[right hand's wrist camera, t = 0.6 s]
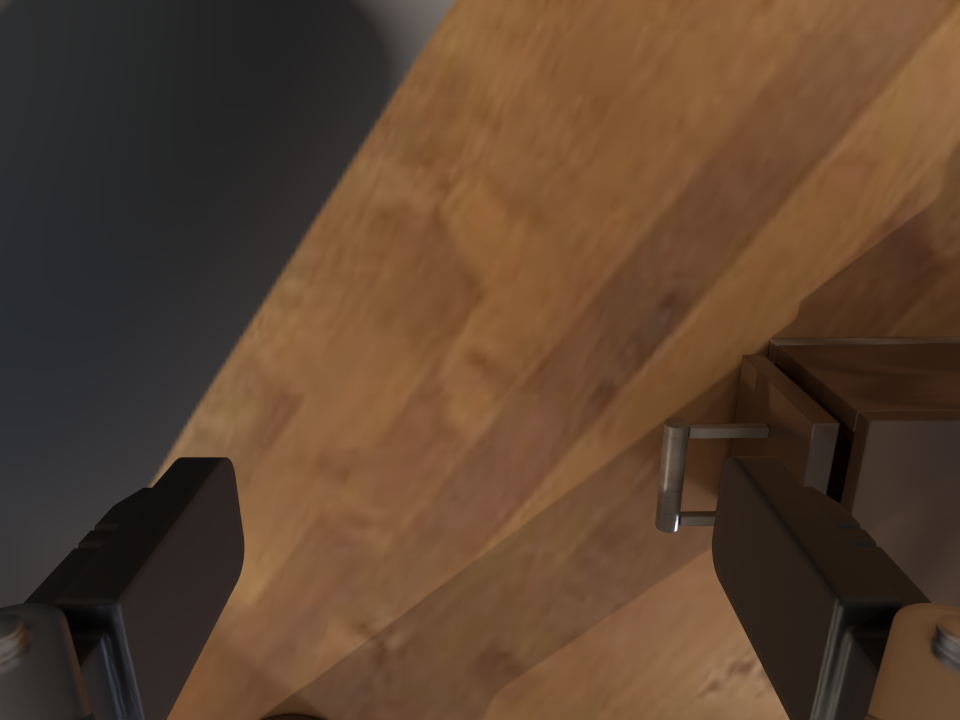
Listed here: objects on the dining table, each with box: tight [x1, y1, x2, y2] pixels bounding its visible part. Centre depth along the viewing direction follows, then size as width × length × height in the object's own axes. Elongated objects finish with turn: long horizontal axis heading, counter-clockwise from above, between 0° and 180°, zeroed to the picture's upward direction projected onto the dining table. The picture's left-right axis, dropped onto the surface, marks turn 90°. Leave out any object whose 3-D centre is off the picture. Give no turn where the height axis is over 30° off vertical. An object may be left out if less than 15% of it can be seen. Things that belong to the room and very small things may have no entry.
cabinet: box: [768, 337, 960, 608], centre depth 37 cm, size 18×12×11 cm
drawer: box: [655, 355, 855, 533], centre depth 37 cm, size 22×11×9 cm, turn 91°
